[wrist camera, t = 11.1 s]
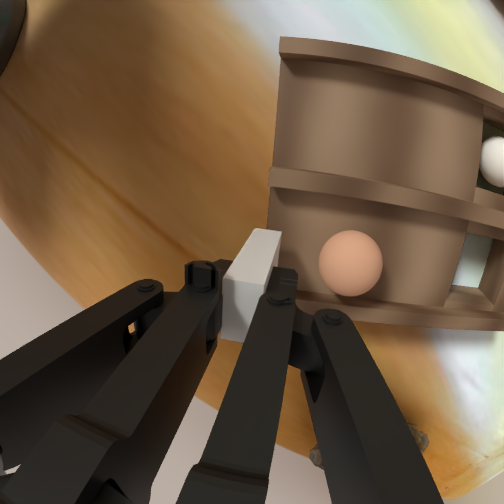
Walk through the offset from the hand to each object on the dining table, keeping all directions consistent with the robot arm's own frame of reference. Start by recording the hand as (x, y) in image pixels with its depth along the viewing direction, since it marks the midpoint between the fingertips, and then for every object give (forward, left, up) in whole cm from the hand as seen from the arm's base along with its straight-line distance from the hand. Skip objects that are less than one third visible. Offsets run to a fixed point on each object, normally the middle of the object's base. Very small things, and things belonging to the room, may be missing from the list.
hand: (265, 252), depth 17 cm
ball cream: (+15, +8, -3) cm, 18 cm away
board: (+10, +4, -4) cm, 11 cm away
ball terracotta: (+5, 0, 0) cm, 5 cm away
